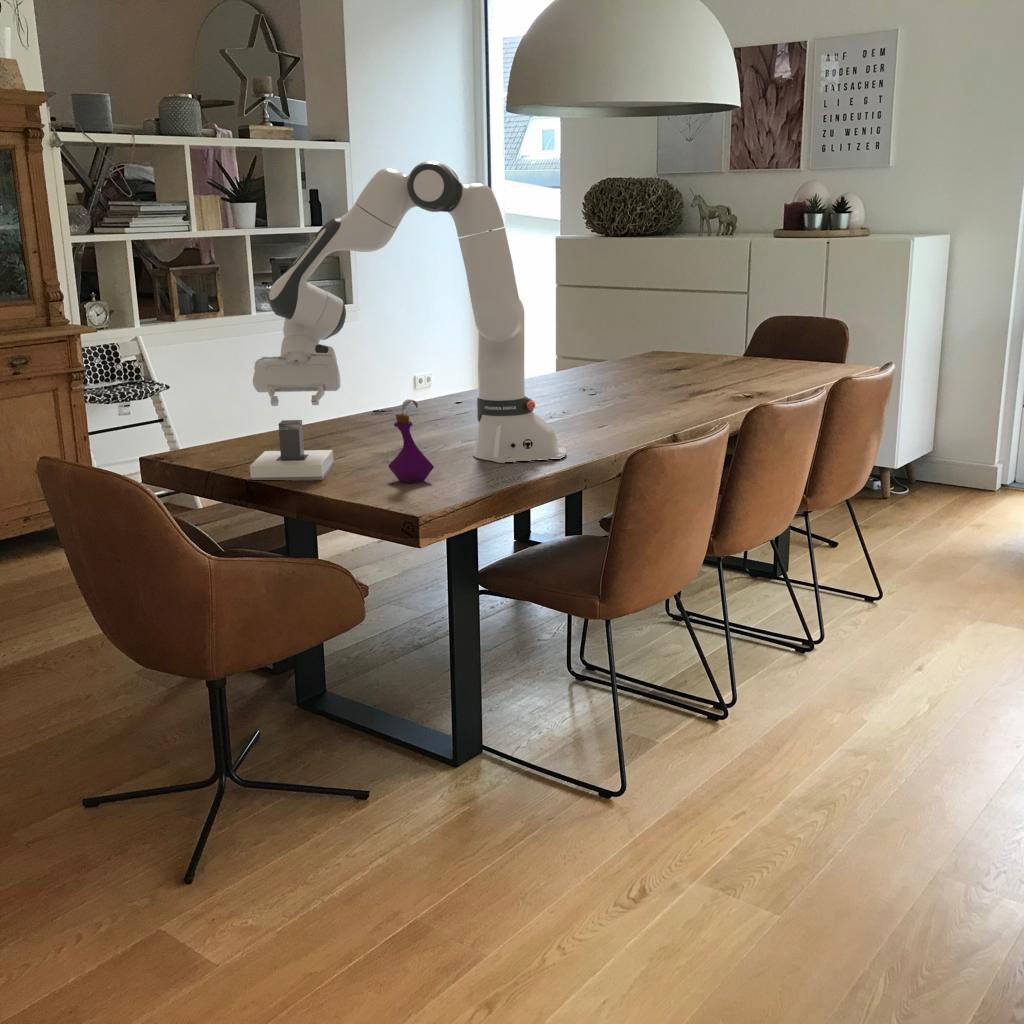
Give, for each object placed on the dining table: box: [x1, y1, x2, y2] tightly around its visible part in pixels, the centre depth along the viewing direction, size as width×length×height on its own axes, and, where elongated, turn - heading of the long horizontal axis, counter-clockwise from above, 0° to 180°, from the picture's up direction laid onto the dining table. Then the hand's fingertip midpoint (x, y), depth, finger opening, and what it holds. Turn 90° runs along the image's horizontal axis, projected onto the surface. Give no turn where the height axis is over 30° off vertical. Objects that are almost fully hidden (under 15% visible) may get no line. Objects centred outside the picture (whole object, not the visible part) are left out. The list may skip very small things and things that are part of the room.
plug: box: [278, 419, 305, 461], centre depth 260 cm, size 4×4×11 cm
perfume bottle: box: [387, 399, 435, 484], centre depth 250 cm, size 8×8×18 cm
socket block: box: [249, 449, 334, 482], centre depth 261 cm, size 16×16×4 cm
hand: (294, 404), depth 264 cm, fingers open, 8 cm apart
